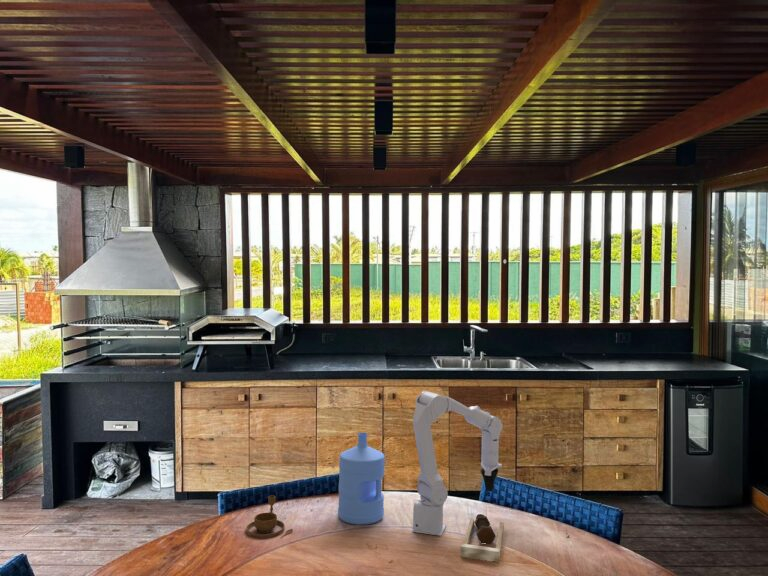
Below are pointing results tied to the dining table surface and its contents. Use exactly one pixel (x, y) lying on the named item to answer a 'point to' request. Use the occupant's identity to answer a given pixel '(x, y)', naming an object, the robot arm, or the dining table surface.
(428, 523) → the robot arm
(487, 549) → the guide channel
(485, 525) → the bolt
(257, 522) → the place setting
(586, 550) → the dining table surface
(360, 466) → the water jug
